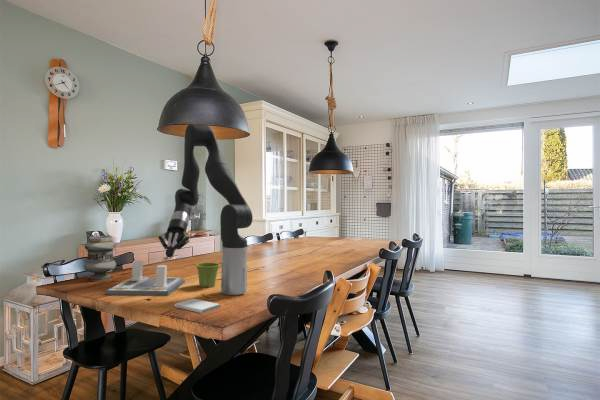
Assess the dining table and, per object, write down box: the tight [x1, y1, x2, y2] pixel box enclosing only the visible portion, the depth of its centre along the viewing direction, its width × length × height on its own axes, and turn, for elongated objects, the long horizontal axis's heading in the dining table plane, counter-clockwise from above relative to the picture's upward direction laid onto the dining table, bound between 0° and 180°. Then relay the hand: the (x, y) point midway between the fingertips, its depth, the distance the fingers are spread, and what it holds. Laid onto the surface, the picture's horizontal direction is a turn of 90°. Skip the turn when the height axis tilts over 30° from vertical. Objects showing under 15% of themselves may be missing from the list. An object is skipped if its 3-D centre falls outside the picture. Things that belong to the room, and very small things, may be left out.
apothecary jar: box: [83, 235, 117, 282], centre depth 155 cm, size 12×12×18 cm
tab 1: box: [130, 260, 144, 281], centre depth 145 cm, size 3×4×8 cm
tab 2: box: [155, 264, 168, 288], centre depth 135 cm, size 3×4×8 cm
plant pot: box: [195, 262, 221, 288], centre depth 146 cm, size 9×9×9 cm
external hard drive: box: [174, 298, 222, 314], centre depth 117 cm, size 2×8×12 cm
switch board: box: [105, 276, 186, 296], centre depth 140 cm, size 22×21×2 cm
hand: (168, 256), depth 143 cm, fingers closed
